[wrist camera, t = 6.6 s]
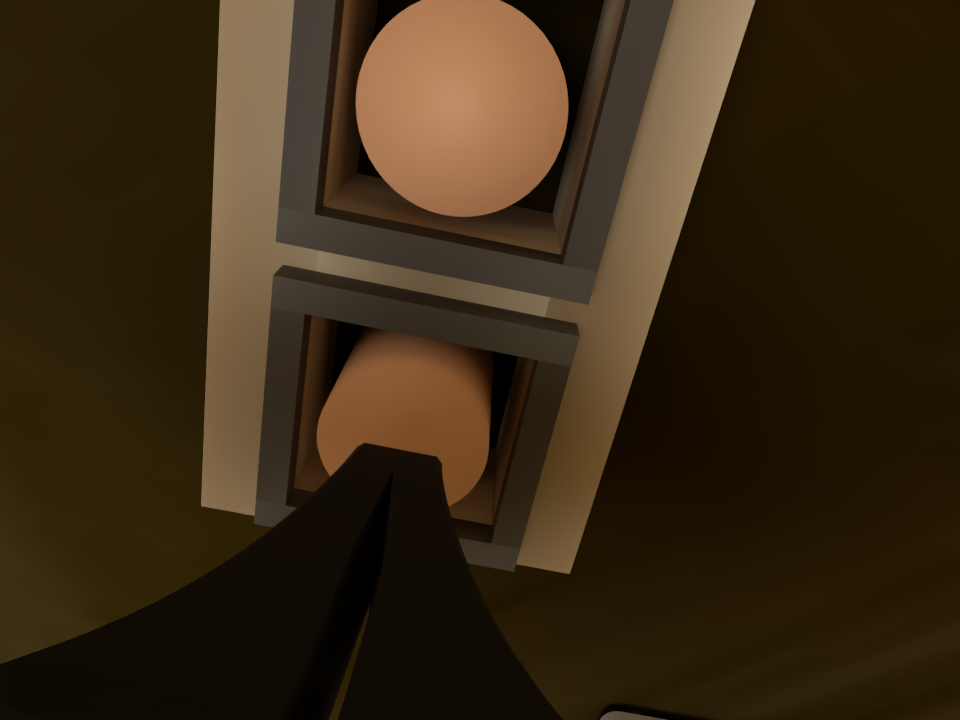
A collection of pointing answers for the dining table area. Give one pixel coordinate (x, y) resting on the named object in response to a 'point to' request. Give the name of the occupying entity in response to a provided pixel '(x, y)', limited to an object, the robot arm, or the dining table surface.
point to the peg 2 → (412, 404)
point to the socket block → (445, 260)
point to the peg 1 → (462, 105)
